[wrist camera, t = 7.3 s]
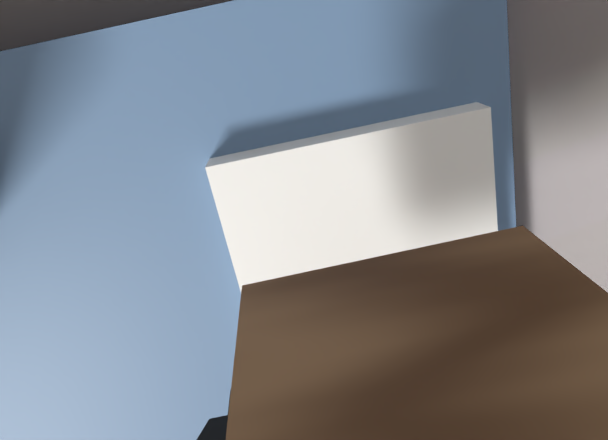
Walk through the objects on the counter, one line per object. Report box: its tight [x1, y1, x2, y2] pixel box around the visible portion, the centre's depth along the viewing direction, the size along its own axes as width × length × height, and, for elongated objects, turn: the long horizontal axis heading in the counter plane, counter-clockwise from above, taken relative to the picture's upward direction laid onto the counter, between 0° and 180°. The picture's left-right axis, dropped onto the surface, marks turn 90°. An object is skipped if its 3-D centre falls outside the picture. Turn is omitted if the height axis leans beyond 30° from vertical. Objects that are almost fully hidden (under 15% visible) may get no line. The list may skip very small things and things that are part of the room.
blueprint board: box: [0, 0, 516, 440], centre depth 16 cm, size 24×16×2 cm, turn 101°
